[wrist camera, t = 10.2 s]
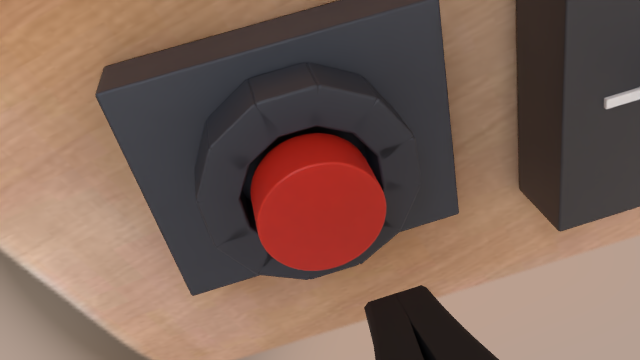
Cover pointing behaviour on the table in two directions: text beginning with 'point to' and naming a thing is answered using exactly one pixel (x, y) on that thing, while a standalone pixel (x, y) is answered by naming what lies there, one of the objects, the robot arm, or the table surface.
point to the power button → (316, 202)
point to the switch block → (284, 125)
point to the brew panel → (579, 107)
